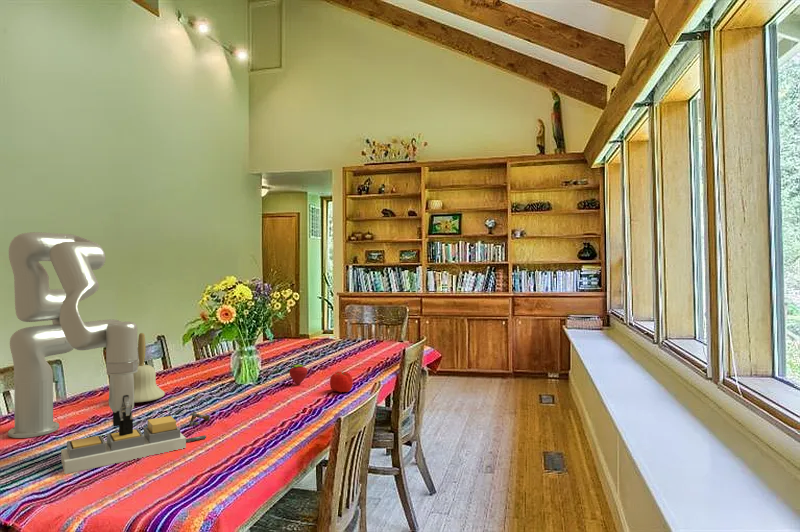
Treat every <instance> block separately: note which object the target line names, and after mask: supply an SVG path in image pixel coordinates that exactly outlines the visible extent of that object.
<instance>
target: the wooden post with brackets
mask: <svg viewBox="0 0 800 532" xmlns="http://www.w3.org/2000/svg"><path fill="white" fill-rule="evenodd" d="M190 416H191V418H190V421H189V425H188V427H192V426H198V425H199V422H198V421H195V419H196V418H198V419H203V421H204V420H205V422H209V421H210V419H211V415H209V414H205V415H203V414H200V413H197V412H196V411H193V412H191V413H190Z"/></svg>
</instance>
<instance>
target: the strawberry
mask: <svg viewBox="0 0 800 532" xmlns="http://www.w3.org/2000/svg"><path fill="white" fill-rule="evenodd" d="M296 363H297V364H294V365H293V364H292V365H291V366H292V367H291V368H290V369H289V371H288V373H289V377H290V378H291V379H292V381H293V382H294V383H295V384H296V385H297V386H299V385H301V384H302V383H303V381H304V380H305V378H306V377H307V375H308V369H307V367H304V366H305V364H298V361H296Z"/></svg>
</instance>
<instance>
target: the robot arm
mask: <svg viewBox="0 0 800 532" xmlns="http://www.w3.org/2000/svg"><path fill="white" fill-rule="evenodd" d="M8 260H9V264H10V268H11V269H12V273H13V279H14V280H13V281H14V282H13V286H14V287H13V288H14V309H15V314H16V318H17V319H18V320H19V321H20V322H25V323H36V322H46V321H52V324H46V325H45V324H44V325H35V326H34V325H33V326H28V327H24V328H20V329H18V330H15V332H13V334H12V335H11V337H10V339H9V348H10V349H9V350H10V352H11V353H10V354H11V358H12V362H13V363H12V364H13V377H14V378H13V380H14V381H13V382H14V385H13V386H14V387H13V388H14V389H13V392H14V395H13V396H14V397H13V398H14V405H13V406H14V413H13V414H14V427H12V428H10V429H9V430H8V432H7V436H8V437H9V438H14V439H27V438H29V439H30V438H36V437H40V436H46V435H48V434H51V433H54V432H56V431H58V430H59V429H60V423H59V422H57V421H54V371H53V368H52V367H51V364H49V363H48V361H47V359H46V358H47V357H51V356H57V355H62V354H67V353H70V352H71V351H73V350H74V349H75V350H76V351H88V350H93V349H94V350H95V349H99V348H105V349H106V351H105V352H106V355H105V356H106V362H105V363H106V364H105V365H106V375H107V376H109V383H108V385H109V386H108V407H109V409H111V411H112V426H113V427H118V432H119V435H120V436H122V435H127V434H132V433H133V430H134V418H133V413H132V412H133V409H134V408H135V402H134V375H133V373H136V372H138V365H139V364H138V362H139V356H138V325H137V324H136V322H134V321H122V320H119V319H112V318H111V319H102V320H101V319H100V320H91V321H83V319H82V317H81V314H80V312H79V304H80V303H79V302H81V301H84V300H86V299H87V298H90V297H91V296H93V295H94V294H95V293H97V291H98V290H99V287H100V284H99V281H98V279H97V277H96V275H95V272H94V271H96V270H100V269H101V268H103V266H104V265H105V263H106V253H105V251H104V249H103V247H102V246H101V244H99V243H97V242H96V241H93V240H90V239H87V238H84V237H82V236H80V235H79V236H78V235H76V234H71V233H55V232H53V233H52V232H38V231H37V232H35V231H34V232H24V233H20V234H18V235H16V236H14V237H13V239H12V240H11V241H10V243H9V247H8ZM40 262H51V264H52V267H53V269H54V271H55V273H56V276H57V278H58V280H59V282H60V285H61V287H62V288H56V289H50V277H49V273H48V271H47V270H46V268H45V267H44V266H43V265H42V264H41V263H40Z"/></svg>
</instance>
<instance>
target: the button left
mask: <svg viewBox="0 0 800 532" xmlns="http://www.w3.org/2000/svg"><path fill="white" fill-rule="evenodd" d="M98 436H99V435H94V436H90V437H83V438H77V439H72V440H70V441H71V448H72V449H76V448H81V447H87V446H92V445H98V444H101V441H100V439H99V437H98Z"/></svg>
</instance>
